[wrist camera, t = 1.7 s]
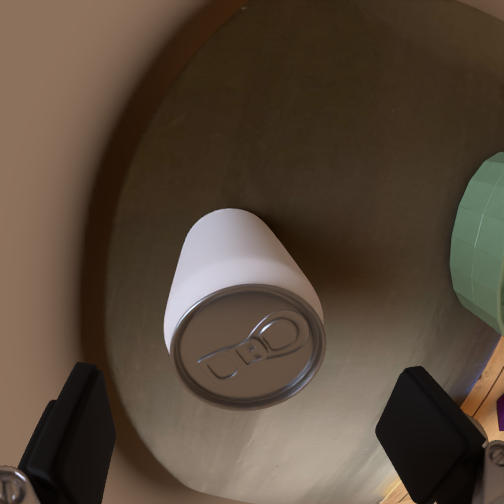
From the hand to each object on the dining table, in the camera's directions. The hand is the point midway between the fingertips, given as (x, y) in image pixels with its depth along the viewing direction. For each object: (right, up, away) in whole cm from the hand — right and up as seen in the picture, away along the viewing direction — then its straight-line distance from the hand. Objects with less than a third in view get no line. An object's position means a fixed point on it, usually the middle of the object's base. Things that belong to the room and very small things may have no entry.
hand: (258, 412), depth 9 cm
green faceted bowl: (+25, +7, +16) cm, 31 cm away
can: (-2, +5, +14) cm, 15 cm away
